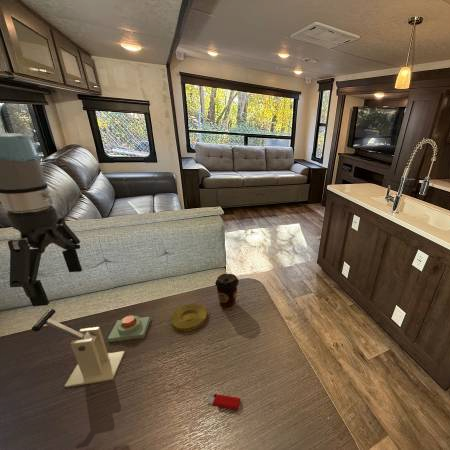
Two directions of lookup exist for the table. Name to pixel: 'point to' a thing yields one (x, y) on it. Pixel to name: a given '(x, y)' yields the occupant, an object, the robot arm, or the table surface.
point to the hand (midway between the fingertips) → (60, 286)
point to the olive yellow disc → (188, 317)
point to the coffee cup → (227, 290)
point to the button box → (129, 330)
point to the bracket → (93, 360)
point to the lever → (60, 327)
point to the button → (128, 321)
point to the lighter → (224, 401)
